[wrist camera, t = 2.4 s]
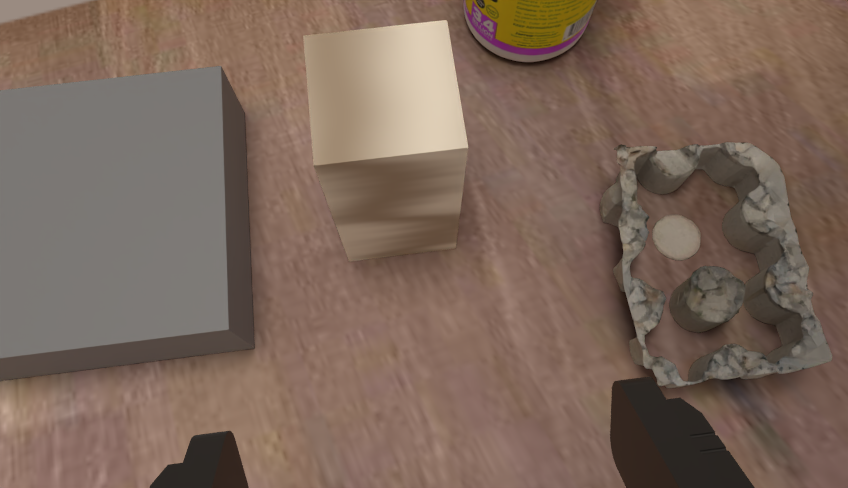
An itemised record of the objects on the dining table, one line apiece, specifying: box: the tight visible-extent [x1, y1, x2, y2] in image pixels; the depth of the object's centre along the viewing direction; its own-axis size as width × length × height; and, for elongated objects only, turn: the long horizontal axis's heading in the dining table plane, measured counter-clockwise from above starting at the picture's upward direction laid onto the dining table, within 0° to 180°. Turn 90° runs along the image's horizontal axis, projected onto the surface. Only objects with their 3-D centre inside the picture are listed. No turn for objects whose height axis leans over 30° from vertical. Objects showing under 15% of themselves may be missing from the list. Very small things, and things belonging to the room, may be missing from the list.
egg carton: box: [600, 142, 832, 388], centre depth 29 cm, size 11×8×4 cm
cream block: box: [303, 20, 468, 262], centre depth 27 cm, size 5×5×10 cm
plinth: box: [0, 66, 255, 381], centre depth 29 cm, size 12×12×4 cm
